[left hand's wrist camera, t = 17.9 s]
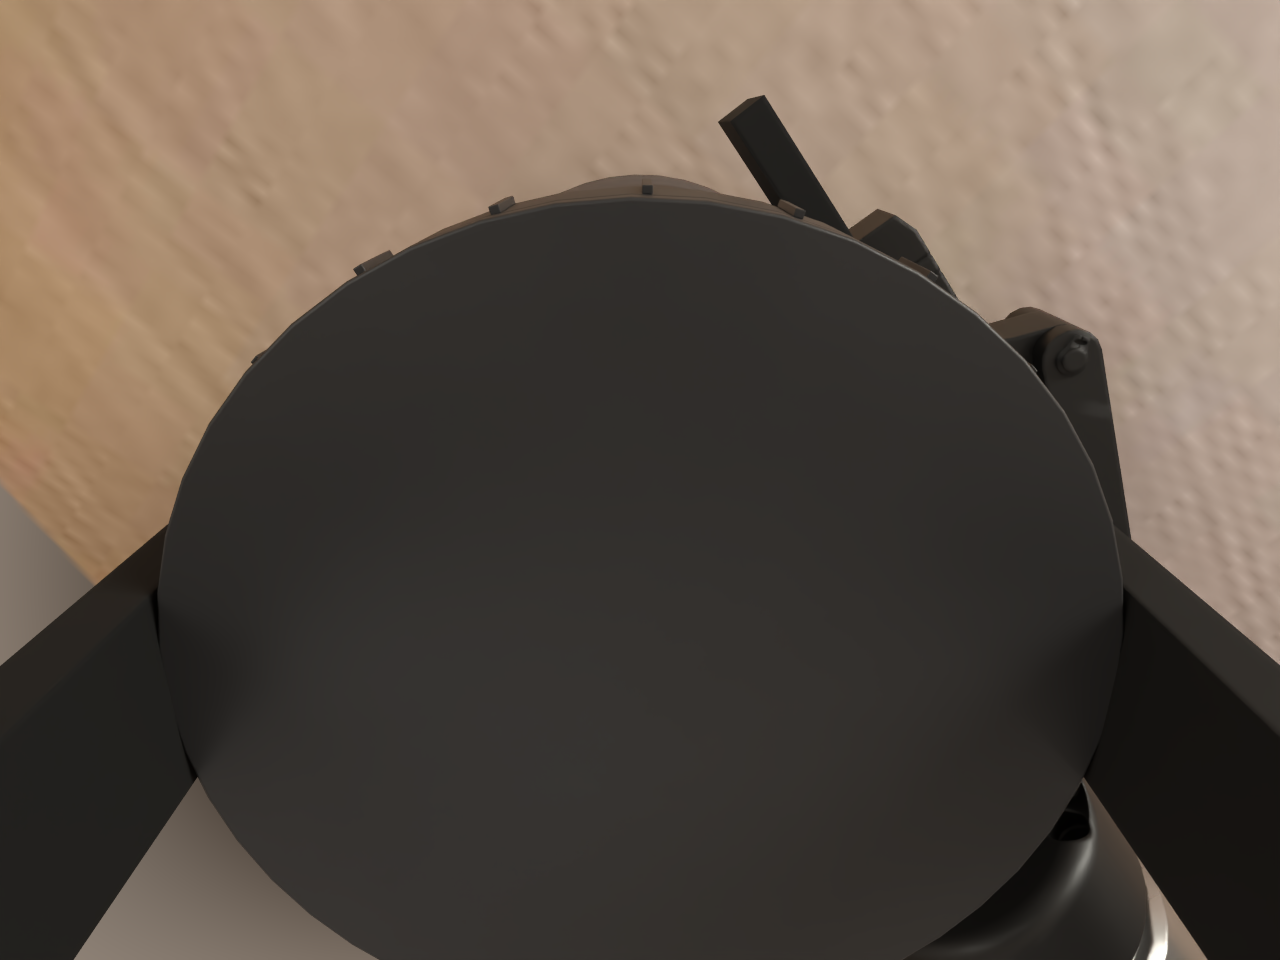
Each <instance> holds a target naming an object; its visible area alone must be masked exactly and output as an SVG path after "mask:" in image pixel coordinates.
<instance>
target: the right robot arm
mask: <svg viewBox="0 0 1280 960" xmlns="http://www.w3.org/2000/svg"><path fill="white" fill-rule="evenodd" d="M718 123H719V124H720V126H721V127H722V129H723V130H724V132H725V133H726V135H727V137H728V138H729V140H730V141H731V143H732V144H733V146H734V147H735V149H736V150H737V152H738V153H739V155H740V156H741V158H742V160H743V161H744V163H745V164H746V166H747V167H748V169H749V170H750V172H751V173H752V175H753V176H754V178H755V180H756V181H757V183H758V184H759V186H760V187H761V189H762V190H763V192H764V193H765V195H766V196H767V198H768V199H769V201H770V203H771V204H772V205H773V206H776V207H778V203H779V200H780V199H781V200H784V201H788V202H790V203H792V204H794V205H795V206H797V207H799V208H801V209H803V210H805V211H806V212H805V215H804V216H805V217H808V218H811V219H814V220H817V221H820V222H823V223H825V224H827V225H829V226H831V227H833V228H835V229H837V230H839V231H841V232H843V233H845V234H847V235H849V236H851V237H853V238H855V239H857V240H859V241H861V242H863V243H864V244H866V245H868V246H870V247H872V248H874V249H876V250H878V251H880V252H882V253H884V254H886V255H888V256H890V257H892V258H894V259H895V260H897V261H898V260H899V259H900V257H904V258H906V259H908V260H910V261H912V262H914V263H916V264H918V265H920V266H922V267H924V268H926V269H928V270H930V271H932V272H933V273H934V274H936V275H937V276H938V278H937V279H936V281H935V282H934V283H935V284H937V285H938V286H940V287H941V288H943V289H944V290H945V291H947V292H948V293H950V294H951V295H952V296H954V297H955V298H957V297H956V295H955V293H954V292H953V290H952V288H951V287H950V285H949V283H948V282H947V280H946V278H945V277H944V275H943V273H942V272H941V271H940V268H939V266H938V265H937V263H936V261H935V260H934V258H933V256H932V255H931V254H930V251H929V250H928V248H927V246H926V245H925V243H924V241H923V240H922V238H921V236H920V235H919V233H918V231H917V230H916V229H914V228H913V227H912V226H910V225H909V224H907V223H906V222H904V221H903V220H901V219H900V218H899V217H897V216H896V215H893V214H890V213H888V212H885V211H882V210H879V209H877V210H875V211H874V212H872V213H871V214H870V215H868V216H867V217H865V218H864V219H863V220H861V221H860V222H858V223H857V224H856V225H854V226H853V227H851V228H850V229H848V228H847V226H846V225H845V223H844V221H843V220H842V218H841V217H840V215H839V213H838V212H837V210H836V209H835V207H834V205H833V204H832V202H831V201H830V199H829V197H828V196H827V194H826V193H825V191H824V189H823V188H822V186H821V185H820V183H819V182H818V180H817V178H816V177H815V175H814V174H813V172H812V170H811V169H810V167H809V166H808V164H807V162H806V161H805V159H804V158H803V156H802V154H801V153H800V151H799V150H798V148H797V146H796V145H795V143H794V142H793V140H792V138H791V137H790V135H789V134H788V132H787V130H786V129H785V127H784V126H783V124H782V122H781V121H780V119H779V118H778V116H777V115H776V113H775V111H774V110H773V108H772V107H771V105H770V103H769V102H768V100H767V99H766V97H765V95H763V96H758V97H754V98H750V99H747V100H746V101H745V102H743V103H742V104H741V105H739V106H738V107H737V108H735V109H734V110H733V111H732V112H730V113H729V114H728V115H726V116H725V117H724V118H723V119H721V120H720V121H719V122H718ZM957 299H958V298H957ZM989 325H990V326H991V327H992V328H993V329H994V330H995V331H996V332H997V333H998V334H999V335H1000V336H1001V337H1002V338H1003V339H1004V340H1006V341H1007V342H1008V343H1009V344H1010V345H1011V346H1012V347H1013V348H1014V349H1015V350H1016V351H1017V352H1018V353H1019V354H1020V355H1021V356H1022V357H1023V358H1024V359H1025V360H1026V361H1027V362H1028V363H1030V364H1032V365H1033V366H1034V368H1035V369H1036V370H1037V373H1036V374H1037V376H1038V377H1039V378H1040V380H1041V381H1042V382H1043V384H1044V385H1045V386H1046V387H1047V389H1048V390H1049V391H1050V393H1051V394H1052V395H1053V397H1054V398H1055V399H1056V401H1057V402H1058V403H1059V405H1060V406H1061V407H1062V409H1063V410H1064V411H1065V413H1066V415H1067V417H1068V419H1069V421H1070V423H1071V424H1072V426H1073V428H1074V430H1075V432H1076V434H1077V436H1078V437H1079V439H1080V441H1081V443H1082V445H1083V447H1084V449H1085V450H1086V452H1087V454H1088V456H1089V458H1090V460H1091V462H1092V463H1093V466H1094V468H1095V471H1096V474H1097V477H1098V480H1099V483H1100V486H1101V489H1102V492H1103V494H1104V497H1105V500H1106V503H1107V506H1108V509H1109V512H1110V515H1111V518H1112V520H1113V525H1115V526H1116V527H1117V528H1118V529H1119V530H1120V531H1122V532H1123V533H1124V534H1125V535H1126V536H1128V537H1129V538H1130V539H1131V535H1130V528H1129V522H1128V515H1127V509H1126V502H1125V496H1124V489H1123V483H1122V477H1121V470H1120V464H1119V457H1118V451H1117V444H1116V438H1115V431H1114V425H1113V418H1112V412H1111V406H1110V399H1109V393H1108V386H1107V380H1106V373H1105V367H1104V360H1103V354H1102V349H1101V346H1100V344H1099V341H1098V339H1097V338H1096V337H1095V336H1093V335H1092V334H1091V333H1090V332H1088V331H1086V330H1083V329H1081V328H1079V327H1077V326H1075V325H1073V324H1070V323H1068V322H1066V321H1064V320H1062V319H1060V318H1057V317H1055V316H1053V315H1051V314H1049V313H1047V312H1044V311H1042V310H1040V309H1036V308H1033V307H1026V308H1019V309H1018V310H1016V311H1014V312H1012V313H1010V314H1009V315H1008V316H1007V317H1006V319H1004V320H1000V321H997V322H993V323H990V324H989ZM903 960H1207V958H1206V957H1205V955H1204V954H1203V952H1202V951H1201V949H1200V948H1199V946H1198V945H1197V944H1196V942H1195V941H1194V939H1193V938H1192V936H1191V935H1190V933H1189V932H1188V930H1187V929H1186V927H1185V926H1184V924H1183V923H1182V921H1181V920H1180V918H1179V917H1178V916H1177V914H1176V913H1175V911H1174V910H1173V908H1172V907H1171V905H1170V904H1169V902H1168V901H1167V899H1166V898H1165V896H1164V895H1163V893H1162V892H1161V890H1160V889H1159V888H1158V886H1157V885H1156V883H1155V882H1154V880H1153V879H1152V877H1151V876H1150V874H1149V873H1148V871H1147V870H1146V868H1145V867H1144V865H1143V864H1142V862H1141V861H1140V859H1139V858H1138V857H1137V855H1136V854H1135V852H1134V851H1133V849H1132V848H1131V846H1130V845H1129V843H1128V842H1127V840H1126V839H1125V837H1124V836H1123V834H1122V833H1121V831H1120V830H1119V829H1118V827H1117V826H1116V824H1115V823H1114V821H1113V820H1112V818H1111V817H1110V815H1109V814H1108V812H1107V811H1106V809H1105V808H1104V806H1103V805H1102V803H1101V802H1100V801H1099V799H1098V798H1097V796H1096V795H1095V793H1094V792H1093V790H1092V789H1091V787H1090V786H1089V784H1088V783H1087V781H1086V780H1085V778H1084V777H1083V779H1082V782H1081V784H1080V786H1079V788H1078V789H1077V791H1076V793H1075V794H1074V796H1073V797H1072V799H1071V800H1070V802H1069V804H1068V805H1067V807H1066V808H1065V810H1064V812H1063V813H1062V815H1061V816H1060V818H1059V819H1058V821H1057V823H1056V824H1055V826H1054V827H1053V829H1052V831H1051V832H1050V833H1049V834H1048V835H1047V837H1046V838H1045V839H1044V840H1043V841H1042V843H1041V844H1040V845H1039V846H1038V847H1037V849H1036V850H1035V851H1034V852H1033V854H1032V855H1031V856H1030V857H1029V858H1028V860H1027V861H1026V862H1025V863H1024V864H1023V866H1022V867H1021V868H1020V869H1019V871H1017V872H1016V873H1015V874H1014V875H1013V876H1012V877H1011V878H1010V879H1009V880H1008V881H1007V882H1006V883H1005V884H1004V885H1003V886H1002V887H1001V888H1000V889H999V890H998V891H996V892H995V893H994V894H993V895H992V896H991V897H990V898H989V899H988V900H987V901H986V902H985V903H984V904H983V905H982V906H981V907H979V908H978V909H977V910H975V911H974V912H973V913H971V914H970V915H969V916H967V917H966V918H965V919H963V920H962V921H961V922H959V923H958V924H957V925H956V926H954V927H953V928H952V929H950V930H949V931H948V932H946V933H945V934H944V935H942V936H941V937H940V938H938V939H936V940H935V941H933V942H931V943H930V944H928V945H926V946H925V947H923V948H921V949H920V950H918V951H916V952H915V953H913V954H911V955H910V956H908V957H906V958H905V959H903Z"/></svg>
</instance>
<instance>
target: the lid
mask: <svg viewBox="0 0 1280 960" xmlns="http://www.w3.org/2000/svg"><path fill="white" fill-rule="evenodd" d="M805 212H806V211H805V210H803V209H801V208H799V207H797V206H795V205H794V204H792V203H790V202H788V201H784V200H781V199H780V200H779V203H778V207H776V206H773V205H770V204H767V203H764V202H760V201H755V200H750V199H745V198H740V197H734V196H729V195H724V194H719V193H713V192H708V191H703V190H697V189H677V188H658V187H653V184H652V180H651V179H642V187H639V186H629V187H617V188H605V189H594V190H582V191H571V192H564V193H559V194H555V195H551V196H546V197H542V198H537V199H533V200H529V201H524V202H520V203H515V201H514V198H513V196H510V197H507V198H504V199H502V200H500V201H498V202H497V203H495V204H493V205H491V206H489V212H487V213H484V214H482V215H479V216H476V217H474V218H471V219H468V220H466V221H463V222H461V223H458V224H455V225H453V226H450V227H447V228H445V229H442V230H440V231H439V232H437V233H435V234H433V235H431V236H429V237H427V238H425V239H423V240H421V241H419V242H418V243H416V244H414V245H412V246H410V247H408V248H406V249H405V250H403V251H401V252H399V253H397V254H396V255H394V256H393V254H392V253H391V251H390V250H388V251H386V252H384V253H382V254H380V255H378V256H376V257H374V258H372V259H370V260H368V261H366V262H364V263H362V264H360V265H359V266H357V267H356V268H354V269H353V270H354V271H355V273H356V274H357V276H356V277H354V278H352V279H350V280H349V281H347V282H346V283H344V284H343V285H342V286H340V287H339V288H338V289H336V290H335V291H334V292H333V293H331V294H330V295H329V296H327V297H326V298H325V299H323V300H322V301H321V302H319V303H318V304H317V305H316V306H314V307H313V308H312V309H310V310H309V311H308V312H306V313H305V314H304V315H302V316H301V317H300V318H299V319H297V320H296V321H295V322H293V323H292V324H291V325H290V326H289V327H288V328H287V329H286V330H285V331H284V332H283V333H282V334H281V335H280V336H279V337H278V339H277V340H276V341H275V342H274V343H273V344H272V345H271V346H270V347H269V348H268V349H267V350H265V351H263V352H262V353H260V354H258V355H257V356H255V358H254V359H253V360H252V361H251V363H252V366H251V367H250V368H249V369H248V370H247V371H246V372H245V373H244V375H243V376H242V377H241V379H240V380H239V382H238V383H237V385H236V386H235V387H234V389H233V390H232V392H231V393H230V395H229V396H228V397H227V399H226V400H225V402H224V403H223V405H222V406H221V407H220V409H219V410H218V412H217V413H216V415H215V416H214V417H213V419H212V420H211V422H210V423H209V425H208V427H207V429H206V431H205V433H204V435H203V437H202V439H201V441H200V443H199V445H198V447H197V449H196V451H195V454H194V456H193V458H192V460H191V462H190V464H189V466H188V468H187V470H186V472H185V474H184V476H183V478H182V481H181V484H180V488H179V491H178V494H177V498H176V501H175V504H174V508H173V511H172V514H171V517H170V521H169V524H168V527H167V531H166V534H165V540H164V548H163V555H162V562H161V570H160V577H159V585H158V592H157V597H158V641H159V648H160V653H161V657H162V662H163V666H164V671H165V676H166V680H167V684H168V688H169V693H170V697H171V701H172V706H173V710H174V714H175V718H176V722H177V726H178V730H179V733H180V737H181V741H182V744H183V747H184V750H185V752H186V754H187V756H188V758H189V760H190V762H191V764H192V766H193V768H194V770H195V772H196V774H197V776H198V778H199V780H200V782H201V784H202V786H203V788H204V790H205V792H206V794H207V796H208V798H209V800H210V801H211V803H212V804H213V805H214V807H215V808H216V810H217V811H218V813H219V814H220V816H221V817H222V819H223V820H224V822H225V823H226V825H227V826H228V828H229V829H230V831H231V832H232V834H233V835H234V837H235V838H236V839H237V841H238V842H239V843H240V844H241V845H242V847H243V848H244V849H245V850H246V851H247V852H248V853H249V855H250V856H251V857H252V858H253V859H254V860H255V861H256V863H257V864H258V865H259V866H260V867H261V868H262V869H263V871H264V872H265V873H266V874H267V875H268V876H269V877H270V879H271V880H272V881H274V882H275V883H276V884H277V885H278V886H279V887H280V888H281V889H282V890H284V891H285V892H286V893H287V894H288V895H289V896H290V897H291V898H292V899H294V900H295V901H296V902H297V903H298V904H299V905H300V906H301V907H302V908H304V909H305V910H306V911H307V912H308V913H309V914H310V915H312V916H313V917H314V918H316V919H317V920H319V921H320V922H321V923H323V924H324V925H326V926H327V927H329V928H330V929H331V930H333V931H334V932H335V933H337V934H338V935H340V936H341V937H342V938H344V939H345V940H347V941H348V942H349V943H351V944H352V945H354V946H356V947H358V948H359V949H361V950H363V951H365V952H366V953H368V954H370V955H372V956H374V957H375V958H377V959H379V960H903V959H905V958H906V957H908V956H910V955H911V954H913V953H915V952H916V951H918V950H920V949H921V948H923V947H925V946H926V945H928V944H930V943H931V942H933V941H935V940H936V939H938V938H940V937H941V936H942V935H944V934H945V933H946V932H948V931H949V930H950V929H952V928H953V927H954V926H956V925H957V924H958V923H959V922H961V921H962V920H963V919H965V918H966V917H967V916H969V915H970V914H971V913H973V912H974V911H975V910H977V909H978V908H979V907H981V906H982V905H983V904H984V903H985V902H986V901H987V900H988V899H989V898H990V897H991V896H992V895H993V894H994V893H995V892H996V891H998V890H999V889H1000V888H1001V887H1002V886H1003V885H1004V884H1005V883H1006V882H1007V881H1008V880H1009V879H1010V878H1011V877H1012V876H1013V875H1014V874H1015V873H1016V872H1017V871H1019V869H1020V868H1021V867H1022V866H1023V864H1024V863H1025V862H1026V861H1027V860H1028V858H1029V857H1030V856H1031V855H1032V854H1033V852H1034V851H1035V850H1036V849H1037V847H1038V846H1039V845H1040V844H1041V843H1042V841H1043V840H1044V839H1045V838H1046V837H1047V835H1048V834H1049V833H1050V832H1051V831H1052V829H1053V827H1054V826H1055V824H1056V823H1057V821H1058V819H1059V818H1060V816H1061V815H1062V813H1063V812H1064V810H1065V808H1066V807H1067V805H1068V804H1069V802H1070V800H1071V799H1072V797H1073V796H1074V794H1075V793H1076V791H1077V789H1078V788H1079V786H1080V784H1081V782H1082V779H1083V777H1084V775H1085V773H1086V771H1087V769H1088V766H1089V764H1090V762H1091V760H1092V758H1093V755H1094V753H1095V751H1096V749H1097V747H1098V744H1099V742H1100V739H1101V735H1102V731H1103V727H1104V723H1105V719H1106V715H1107V711H1108V706H1109V702H1110V698H1111V694H1112V689H1113V685H1114V681H1115V677H1116V672H1117V667H1118V663H1119V658H1120V653H1121V648H1122V642H1123V635H1124V625H1123V577H1122V571H1121V565H1120V560H1119V554H1118V548H1117V543H1116V537H1115V531H1114V526H1113V520H1112V518H1111V515H1110V512H1109V509H1108V506H1107V503H1106V500H1105V497H1104V494H1103V492H1102V489H1101V486H1100V483H1099V480H1098V477H1097V474H1096V471H1095V468H1094V466H1093V463H1092V462H1091V460H1090V458H1089V456H1088V454H1087V452H1086V450H1085V449H1084V447H1083V445H1082V443H1081V441H1080V439H1079V437H1078V436H1077V434H1076V432H1075V430H1074V428H1073V426H1072V424H1071V423H1070V421H1069V419H1068V417H1067V415H1066V413H1065V411H1064V410H1063V409H1062V407H1061V406H1060V405H1059V403H1058V402H1057V401H1056V399H1055V398H1054V397H1053V395H1052V394H1051V393H1050V391H1049V390H1048V389H1047V387H1046V386H1045V385H1044V384H1043V382H1042V381H1041V380H1040V378H1039V377H1038V376H1037V374H1036V373H1037V370H1036V369H1035V368H1034V366H1033V365H1032V364H1030V363H1028V362H1027V361H1026V360H1025V359H1024V358H1023V357H1022V356H1021V355H1020V354H1019V353H1018V352H1017V351H1016V350H1015V349H1014V348H1013V347H1012V346H1011V345H1010V344H1009V343H1008V342H1007V341H1006V340H1004V339H1003V338H1002V337H1001V336H1000V335H999V334H998V333H997V332H996V331H995V330H994V329H993V328H992V327H991V326H990V325H989V324H988V323H987V322H986V321H985V320H984V319H983V318H982V317H981V316H980V315H978V314H977V313H976V312H975V311H974V310H972V309H971V308H969V307H968V306H967V305H965V304H964V303H962V302H961V301H959V300H958V299H957V298H955V297H954V296H952V295H951V294H950V293H948V292H947V291H945V290H944V289H943V288H941V287H940V286H938V285H937V284H935V283H934V282H935V281H936V279H937V278H938V276H937V275H936V274H934V273H933V272H932V271H930V270H928V269H926V268H924V267H922V266H920V265H918V264H916V263H914V262H912V261H910V260H908V259H906V258H904V257H900V259H899V260H898V261H897V260H895V259H894V258H892V257H890V256H888V255H886V254H884V253H882V252H880V251H878V250H876V249H874V248H872V247H870V246H868V245H866V244H864V243H863V242H861V241H859V240H857V239H855V238H853V237H851V236H849V235H847V234H845V233H843V232H841V231H839V230H837V229H835V228H833V227H831V226H829V225H827V224H825V223H823V222H820V221H817V220H814V219H811V218H808V217H805V216H804V215H805Z"/></svg>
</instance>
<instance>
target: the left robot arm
mask: <svg viewBox="0 0 1280 960" xmlns="http://www.w3.org/2000/svg"><path fill="white" fill-rule="evenodd" d="M1113 526H1114V531H1115V537H1116V543H1117V548H1118V554H1119V560H1120V565H1121V571H1122V577H1123V625H1124V635H1123V642H1122V648H1121V653H1120V658H1119V663H1118V667H1117V672H1116V677H1115V681H1114V685H1113V689H1112V694H1111V698H1110V702H1109V706H1108V711H1107V715H1106V719H1105V723H1104V727H1103V731H1102V735H1101V739H1100V742H1099V744H1098V747H1097V749H1096V751H1095V753H1094V755H1093V758H1092V760H1091V762H1090V764H1089V766H1088V769H1087V771H1086V773H1085V775H1084V778H1085V780H1086V781H1087V783H1088V784H1089V786H1090V787H1091V789H1092V790H1093V792H1094V793H1095V795H1096V796H1097V798H1098V799H1099V801H1100V802H1101V803H1102V805H1103V806H1104V808H1105V809H1106V811H1107V812H1108V814H1109V815H1110V817H1111V818H1112V820H1113V821H1114V823H1115V824H1116V826H1117V827H1118V829H1119V830H1120V831H1121V833H1122V834H1123V836H1124V837H1125V839H1126V840H1127V842H1128V843H1129V845H1130V846H1131V848H1132V849H1133V851H1134V852H1135V854H1136V855H1137V857H1138V858H1139V859H1140V861H1141V862H1142V864H1143V865H1144V867H1145V868H1146V870H1147V871H1148V873H1149V874H1150V876H1151V877H1152V879H1153V880H1154V882H1155V883H1156V885H1157V886H1158V888H1159V889H1160V890H1161V892H1162V893H1163V895H1164V896H1165V898H1166V899H1167V901H1168V902H1169V904H1170V905H1171V907H1172V908H1173V910H1174V911H1175V913H1176V914H1177V916H1178V917H1179V918H1180V920H1181V921H1182V923H1183V924H1184V926H1185V927H1186V929H1187V930H1188V932H1189V933H1190V935H1191V936H1192V938H1193V939H1194V941H1195V942H1196V944H1197V945H1198V946H1199V948H1200V949H1201V951H1202V952H1203V954H1204V955H1205V957H1206V958H1207V960H1280V665H1279V664H1278V663H1277V662H1275V661H1274V660H1273V659H1272V658H1271V657H1269V656H1268V655H1267V654H1266V653H1265V652H1264V651H1262V650H1261V649H1260V648H1259V647H1258V646H1256V645H1255V644H1254V643H1253V642H1252V641H1251V640H1249V639H1248V638H1247V637H1246V636H1245V635H1243V634H1242V633H1241V632H1240V631H1239V630H1238V629H1236V628H1235V627H1234V626H1233V625H1232V624H1230V623H1229V622H1228V621H1227V620H1226V619H1224V618H1223V617H1222V616H1221V615H1220V614H1219V613H1217V612H1216V611H1215V610H1214V609H1213V608H1211V607H1210V606H1209V605H1208V604H1207V603H1206V602H1204V601H1203V600H1202V599H1201V598H1200V597H1198V596H1197V595H1196V594H1195V593H1194V592H1193V591H1191V590H1190V589H1189V588H1188V587H1187V586H1185V585H1184V584H1183V583H1182V582H1181V581H1180V580H1178V579H1177V578H1176V577H1175V576H1174V575H1172V574H1171V573H1170V572H1169V571H1168V570H1167V569H1165V568H1164V567H1163V566H1162V565H1161V564H1159V563H1158V562H1157V561H1156V560H1155V559H1154V558H1152V557H1151V556H1150V555H1149V554H1148V553H1146V552H1145V551H1144V550H1143V549H1142V548H1141V547H1139V546H1138V545H1137V544H1136V543H1135V542H1133V541H1132V540H1131V539H1130V538H1129V537H1128V536H1126V535H1125V534H1124V533H1123V532H1122V531H1120V530H1119V529H1118V528H1117V527H1116V526H1115V525H1113ZM167 527H168V525H166V526H165V527H164V528H163V529H162V530H161V531H159V532H158V533H157V534H156V535H155V536H153V537H152V538H151V539H150V540H149V541H148V542H146V543H145V544H144V545H143V546H142V547H140V548H139V549H138V550H137V551H136V552H135V553H133V554H132V555H131V556H130V557H129V558H127V559H126V560H125V561H124V562H123V563H122V564H120V565H119V566H118V567H117V568H116V569H114V570H113V571H112V572H111V573H110V574H109V575H107V576H106V577H105V578H104V579H103V580H101V581H100V582H99V583H98V584H97V585H96V586H94V587H93V588H92V589H91V590H90V591H88V592H87V593H86V594H85V595H84V596H83V597H81V598H80V599H79V600H78V601H77V602H76V603H74V604H73V605H72V606H71V607H70V608H68V609H67V610H66V611H65V612H64V613H63V614H61V615H60V616H59V617H58V618H57V619H55V620H54V621H53V622H52V623H51V624H49V625H48V626H47V627H46V628H45V629H44V630H42V631H41V632H40V633H39V634H38V635H36V636H35V637H34V638H33V639H32V640H31V641H29V642H28V643H27V644H26V645H25V646H24V647H22V648H21V649H20V650H19V651H18V652H16V653H15V654H14V655H13V656H12V657H10V658H9V659H8V660H7V661H6V662H5V663H3V664H2V665H1V666H0V960H74V958H75V957H76V955H77V954H78V952H79V951H80V949H81V948H82V946H83V945H84V943H85V942H86V941H87V939H88V938H89V936H90V935H91V933H92V932H93V930H94V929H95V927H96V926H97V924H98V923H99V921H100V920H101V918H102V917H103V915H104V914H105V913H106V911H107V910H108V908H109V907H110V905H111V904H112V902H113V901H114V899H115V898H116V896H117V895H118V893H119V892H120V890H121V889H122V887H123V886H124V884H125V883H126V882H127V880H128V879H129V877H130V876H131V874H132V873H133V871H134V870H135V868H136V867H137V865H138V864H139V862H140V861H141V859H142V858H143V856H144V855H145V853H146V852H147V851H148V849H149V848H150V846H151V845H152V843H153V842H154V840H155V839H156V837H157V836H158V834H159V833H160V831H161V830H162V828H163V827H164V826H165V824H166V823H167V821H168V820H169V818H170V817H171V815H172V814H173V812H174V811H175V809H176V808H177V806H178V805H179V803H180V802H181V800H182V799H183V797H184V796H185V795H186V793H187V792H188V790H189V789H190V787H191V786H192V784H193V783H194V781H195V780H196V778H197V777H198V776H197V774H196V772H195V770H194V768H193V766H192V764H191V762H190V760H189V758H188V756H187V754H186V752H185V750H184V747H183V744H182V741H181V737H180V733H179V730H178V726H177V722H176V718H175V714H174V710H173V706H172V701H171V697H170V693H169V688H168V684H167V680H166V676H165V671H164V666H163V662H162V657H161V653H160V648H159V641H158V597H157V592H158V585H159V577H160V570H161V562H162V555H163V548H164V540H165V534H166V531H167Z"/></svg>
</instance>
